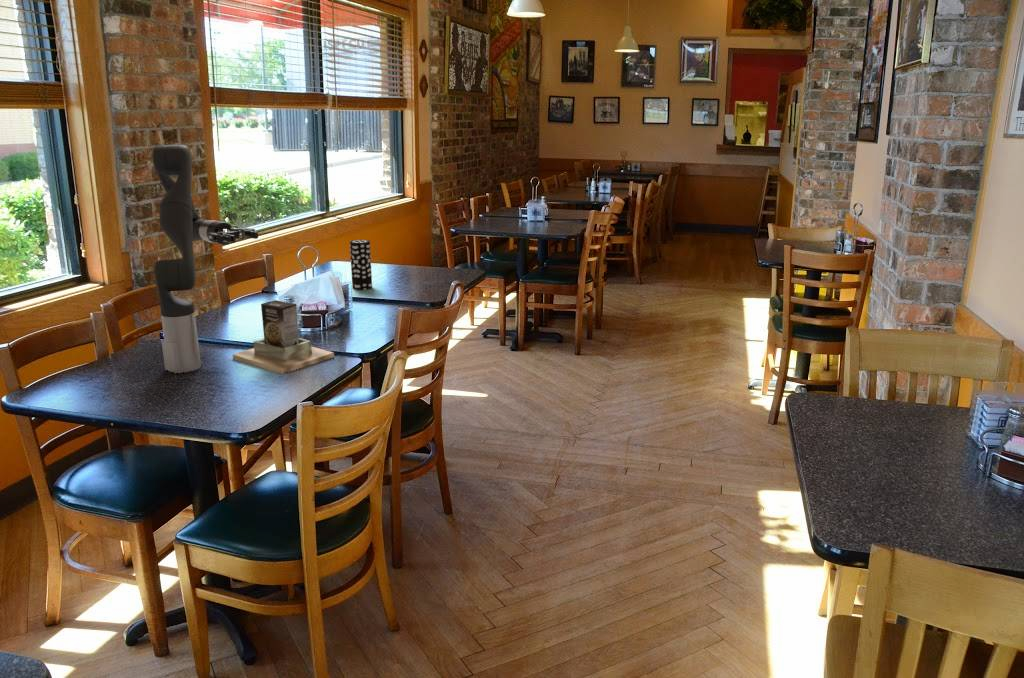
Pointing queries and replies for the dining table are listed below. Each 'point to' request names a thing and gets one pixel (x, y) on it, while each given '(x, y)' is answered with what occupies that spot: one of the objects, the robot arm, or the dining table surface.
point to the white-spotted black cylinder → (361, 264)
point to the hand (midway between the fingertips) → (245, 237)
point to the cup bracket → (283, 356)
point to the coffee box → (280, 323)
